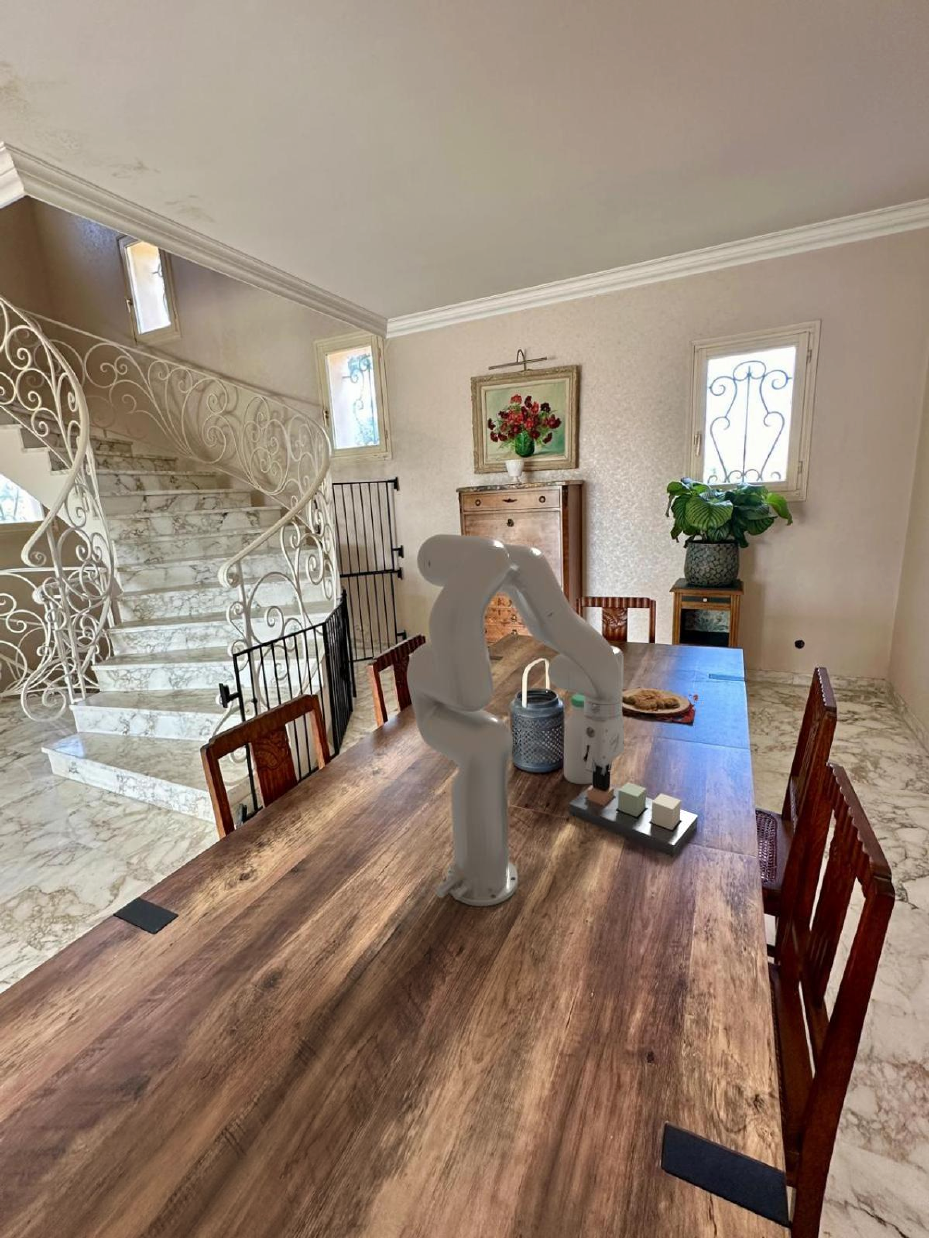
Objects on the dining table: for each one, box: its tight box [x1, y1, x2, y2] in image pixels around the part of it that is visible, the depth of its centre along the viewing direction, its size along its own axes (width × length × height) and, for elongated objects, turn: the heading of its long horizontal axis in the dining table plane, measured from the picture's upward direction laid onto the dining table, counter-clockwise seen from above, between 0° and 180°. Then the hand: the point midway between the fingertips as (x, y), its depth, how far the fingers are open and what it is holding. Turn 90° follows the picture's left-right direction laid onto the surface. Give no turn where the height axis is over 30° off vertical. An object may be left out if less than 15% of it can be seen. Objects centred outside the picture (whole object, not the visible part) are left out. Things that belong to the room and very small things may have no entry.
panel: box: [568, 784, 698, 858], centre depth 114 cm, size 12×22×3 cm, turn 48°
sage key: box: [618, 781, 647, 818], centre depth 113 cm, size 4×4×4 cm
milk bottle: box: [563, 694, 593, 785], centre depth 129 cm, size 8×8×20 cm
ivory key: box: [651, 793, 682, 831], centre depth 108 cm, size 4×4×4 cm
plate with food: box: [622, 686, 699, 723], centre depth 173 cm, size 24×26×4 cm
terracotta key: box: [586, 785, 614, 806], centre depth 118 cm, size 4×4×4 cm
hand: (601, 787), depth 118 cm, fingers closed
